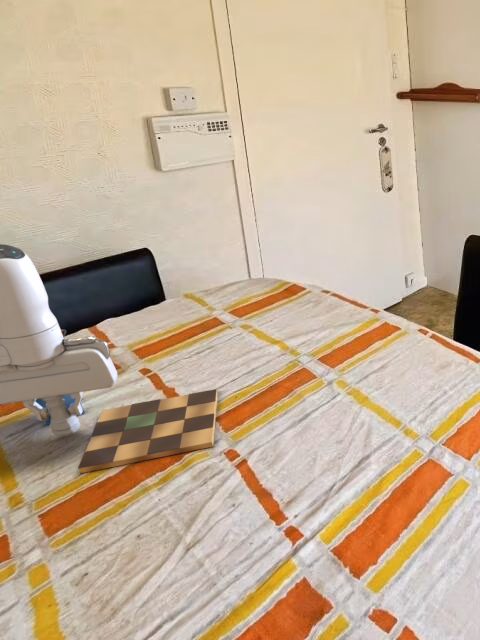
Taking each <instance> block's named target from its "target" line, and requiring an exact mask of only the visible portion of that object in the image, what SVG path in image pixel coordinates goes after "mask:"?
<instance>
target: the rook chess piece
mask: <svg viewBox="0 0 480 640" xmlns="http://www.w3.org/2000/svg"><path fill="white" fill-rule="evenodd" d="M41 399H42V400H44V401H45V402H46V407H48V409H49V411H50V415H51V420H50V422H51V423H50V424H48V426H49V430H51V431H50V433H51V435H54V436H56V437H64V436H69V435H72V434H74V433H76V432H77V431H78V430H79V429H80V427H81V422H80V421H79V418H78V417H77V415H76V416H71V415H70V412H69V410H68V409H67V407H66V405H65V403H64V402H65V400H64V399H62V395H58V396H52V397H45V398H41Z"/></svg>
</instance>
